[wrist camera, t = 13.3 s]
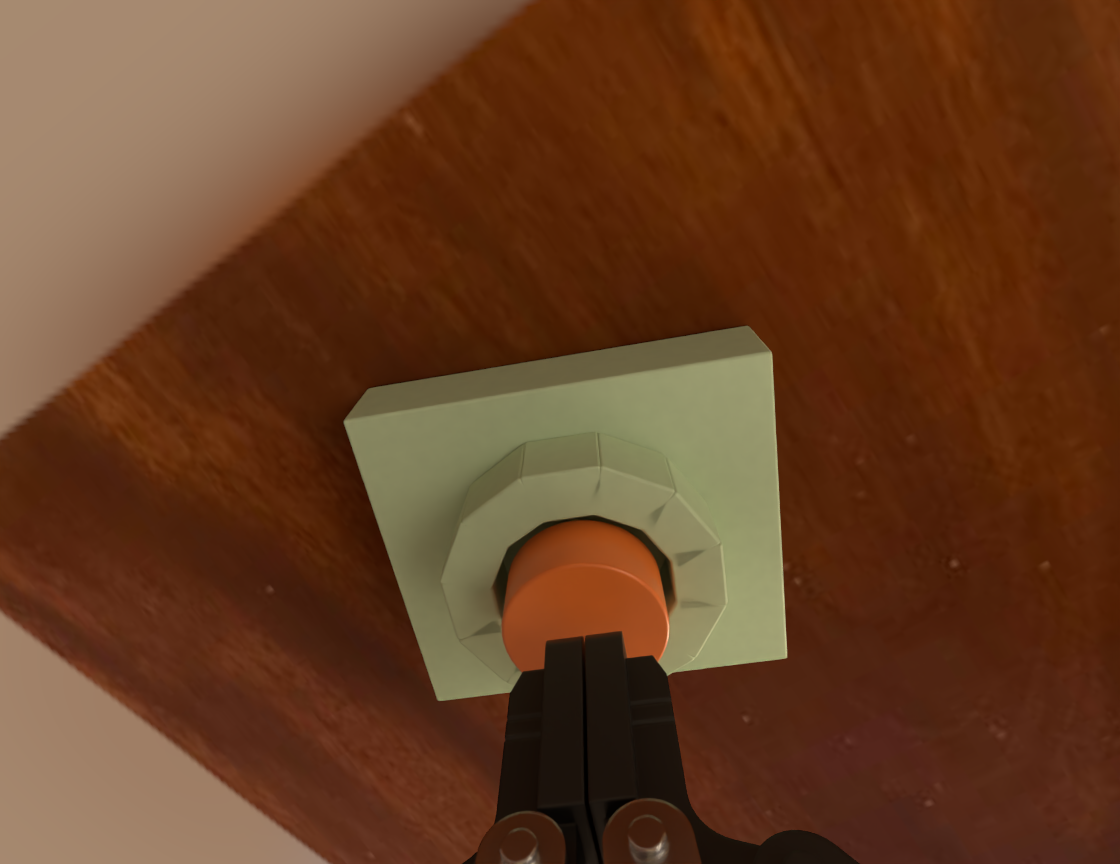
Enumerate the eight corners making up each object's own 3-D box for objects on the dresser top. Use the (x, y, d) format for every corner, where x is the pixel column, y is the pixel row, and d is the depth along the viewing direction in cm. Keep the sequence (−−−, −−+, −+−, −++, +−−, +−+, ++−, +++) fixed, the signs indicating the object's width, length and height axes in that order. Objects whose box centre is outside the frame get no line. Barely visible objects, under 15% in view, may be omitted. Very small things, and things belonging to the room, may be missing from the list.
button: (524, 651, 17) (519, 706, 15) (493, 530, 15) (484, 577, 14) (668, 632, 17) (678, 687, 15) (650, 507, 15) (660, 553, 13)
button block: (449, 648, 21) (424, 755, 18) (367, 387, 18) (314, 455, 14) (767, 607, 21) (809, 711, 17) (748, 324, 17) (798, 378, 13)
